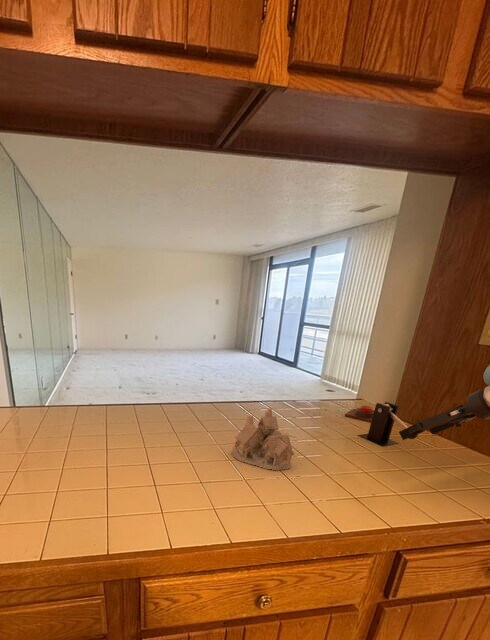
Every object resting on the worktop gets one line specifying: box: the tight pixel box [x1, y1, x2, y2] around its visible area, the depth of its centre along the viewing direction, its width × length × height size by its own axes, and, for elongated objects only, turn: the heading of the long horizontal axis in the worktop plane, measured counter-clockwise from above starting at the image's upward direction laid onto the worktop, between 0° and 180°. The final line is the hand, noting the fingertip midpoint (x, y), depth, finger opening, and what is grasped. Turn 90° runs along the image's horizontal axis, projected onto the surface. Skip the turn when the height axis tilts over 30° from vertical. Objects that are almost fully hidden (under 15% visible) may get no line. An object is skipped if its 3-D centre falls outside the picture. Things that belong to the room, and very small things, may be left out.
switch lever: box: [382, 403, 419, 440], centre depth 112 cm, size 14×4×4 cm, turn 22°
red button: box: [360, 405, 373, 413], centre depth 139 cm, size 4×4×2 cm
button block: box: [344, 407, 375, 424], centre depth 140 cm, size 12×10×4 cm
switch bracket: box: [357, 401, 400, 448], centre depth 117 cm, size 10×8×14 cm
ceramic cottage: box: [230, 407, 295, 471], centre depth 103 cm, size 16×16×15 cm
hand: (416, 433), depth 107 cm, fingers open, 13 cm apart
